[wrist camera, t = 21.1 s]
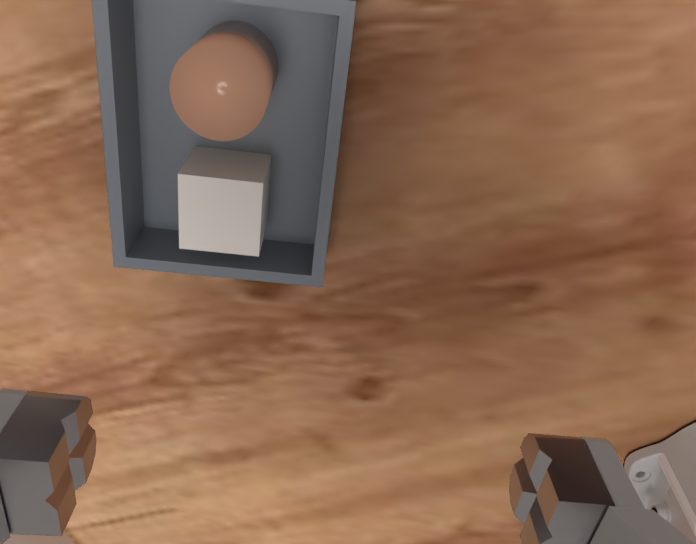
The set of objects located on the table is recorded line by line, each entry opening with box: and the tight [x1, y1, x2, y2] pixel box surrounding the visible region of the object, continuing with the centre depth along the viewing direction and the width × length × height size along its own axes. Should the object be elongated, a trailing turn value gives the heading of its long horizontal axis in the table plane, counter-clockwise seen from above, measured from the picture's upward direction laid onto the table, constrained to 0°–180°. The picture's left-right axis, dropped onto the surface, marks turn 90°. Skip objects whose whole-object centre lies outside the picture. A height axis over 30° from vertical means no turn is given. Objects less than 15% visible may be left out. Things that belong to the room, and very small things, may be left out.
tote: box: [92, 0, 356, 287], centre depth 38 cm, size 18×14×5 cm
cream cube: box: [178, 146, 271, 257], centre depth 39 cm, size 5×5×5 cm
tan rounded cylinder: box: [170, 21, 278, 141], centre depth 34 cm, size 5×5×7 cm
